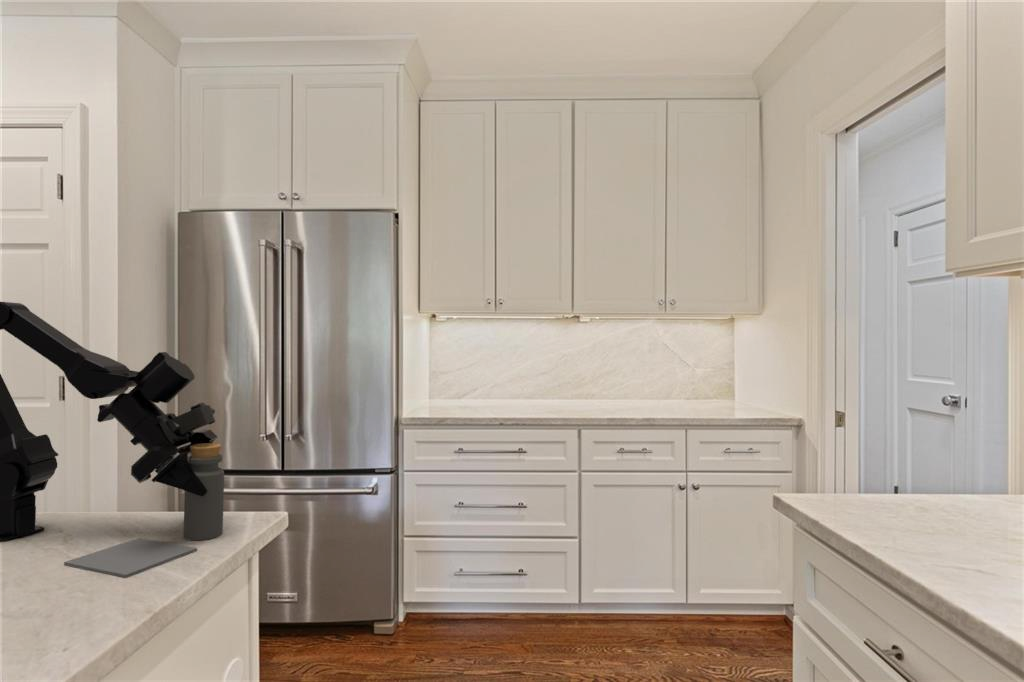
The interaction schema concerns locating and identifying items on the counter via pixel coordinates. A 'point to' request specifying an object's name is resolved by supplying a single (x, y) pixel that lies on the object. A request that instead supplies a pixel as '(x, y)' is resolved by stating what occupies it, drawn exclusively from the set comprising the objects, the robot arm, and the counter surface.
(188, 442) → the robot arm
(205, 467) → the bottle
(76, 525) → the counter surface
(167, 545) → the slate mat
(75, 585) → the counter surface
